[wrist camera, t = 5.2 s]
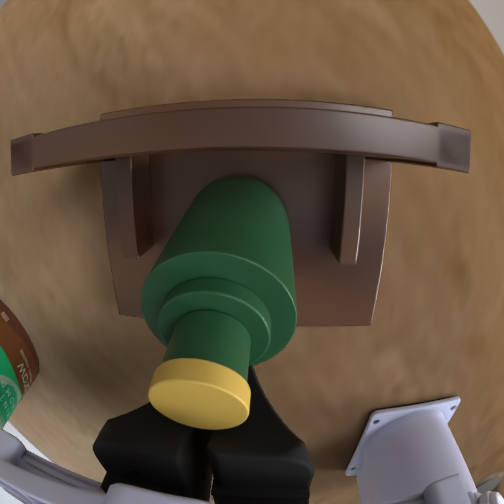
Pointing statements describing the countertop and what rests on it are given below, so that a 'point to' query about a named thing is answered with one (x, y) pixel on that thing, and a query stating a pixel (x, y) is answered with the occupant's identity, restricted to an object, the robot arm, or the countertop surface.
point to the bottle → (220, 301)
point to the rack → (262, 169)
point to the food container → (14, 363)
